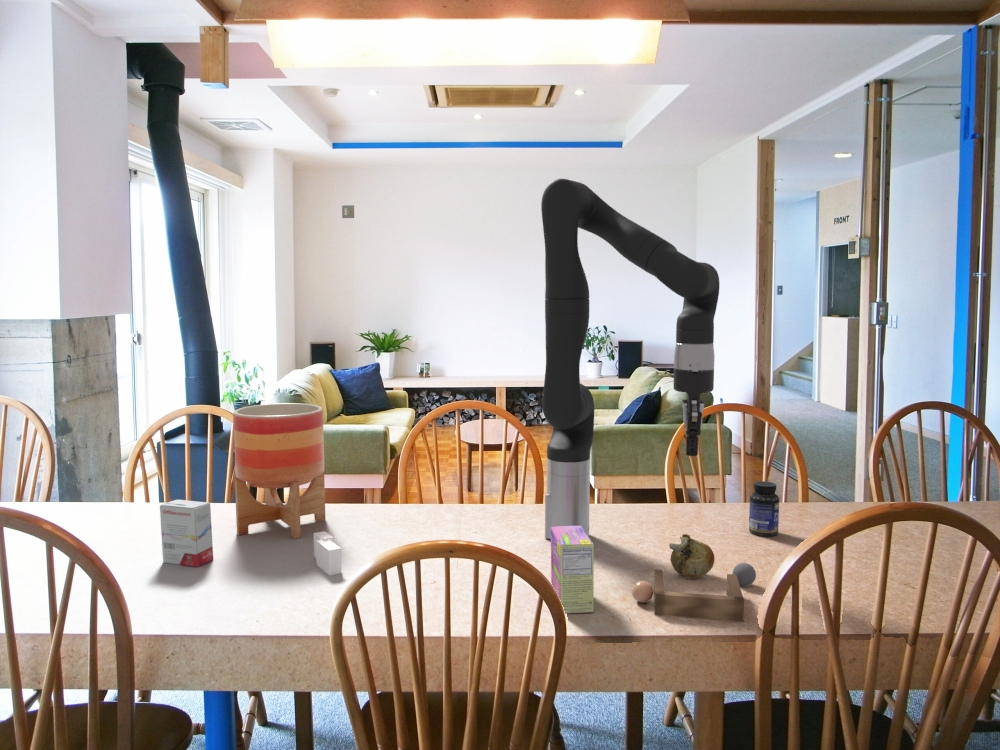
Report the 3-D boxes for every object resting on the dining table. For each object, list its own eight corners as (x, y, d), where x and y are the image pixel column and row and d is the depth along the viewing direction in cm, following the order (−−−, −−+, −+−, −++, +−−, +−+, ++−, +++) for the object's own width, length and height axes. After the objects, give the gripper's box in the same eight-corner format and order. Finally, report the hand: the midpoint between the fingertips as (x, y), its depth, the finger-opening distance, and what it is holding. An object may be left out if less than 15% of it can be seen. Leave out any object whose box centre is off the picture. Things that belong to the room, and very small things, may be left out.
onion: (709, 586, 138) (711, 543, 137) (665, 579, 141) (666, 537, 140) (717, 572, 144) (718, 531, 144) (674, 565, 148) (675, 525, 147)
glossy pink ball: (631, 605, 129) (631, 584, 129) (631, 597, 133) (632, 576, 132) (653, 606, 129) (653, 586, 128) (652, 598, 132) (653, 578, 132)
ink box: (214, 559, 152) (212, 501, 150) (197, 568, 147) (194, 508, 146) (179, 554, 154) (176, 497, 153) (161, 562, 150) (158, 504, 149)
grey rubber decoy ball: (733, 588, 137) (734, 566, 136) (731, 580, 140) (731, 559, 140) (757, 590, 136) (757, 568, 135) (753, 581, 140) (754, 560, 139)
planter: (341, 530, 170) (338, 410, 167) (251, 547, 159) (246, 419, 156) (309, 509, 186) (306, 400, 184) (225, 523, 175) (220, 407, 172)
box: (550, 590, 136) (550, 525, 135) (581, 589, 136) (582, 524, 135) (559, 615, 126) (559, 545, 124) (593, 613, 126) (594, 544, 125)
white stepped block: (347, 581, 142) (346, 551, 141) (287, 579, 143) (286, 549, 142) (367, 553, 156) (367, 526, 156) (313, 552, 157) (312, 525, 157)
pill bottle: (780, 538, 164) (782, 487, 163) (750, 536, 166) (752, 486, 164) (775, 529, 170) (777, 480, 169) (747, 527, 172) (748, 479, 170)
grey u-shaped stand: (654, 614, 125) (655, 594, 125) (653, 588, 137) (654, 569, 136) (743, 621, 123) (744, 600, 123) (735, 593, 134) (735, 574, 134)
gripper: (672, 363, 155) (670, 447, 156) (675, 369, 142) (673, 461, 143) (711, 363, 153) (708, 448, 155) (717, 370, 140) (714, 463, 142)
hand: (691, 454), depth 149 cm, fingers closed
